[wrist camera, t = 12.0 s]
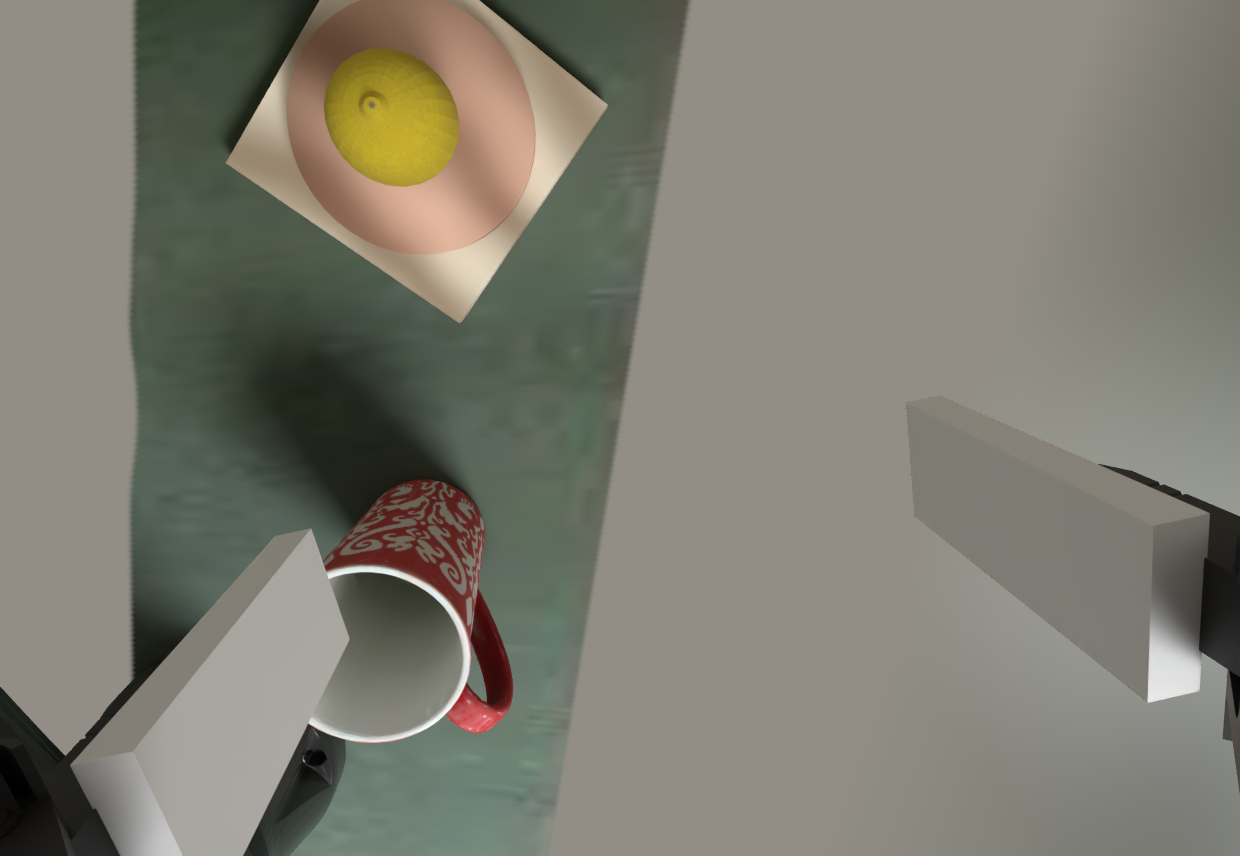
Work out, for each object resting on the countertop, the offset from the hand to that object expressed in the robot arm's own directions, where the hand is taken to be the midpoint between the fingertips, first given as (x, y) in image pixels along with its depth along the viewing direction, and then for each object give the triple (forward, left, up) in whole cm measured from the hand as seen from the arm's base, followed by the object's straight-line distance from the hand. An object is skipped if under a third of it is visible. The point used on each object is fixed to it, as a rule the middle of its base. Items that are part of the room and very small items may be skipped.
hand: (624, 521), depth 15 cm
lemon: (+3, +13, -25) cm, 28 cm away
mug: (-16, -1, -28) cm, 32 cm away
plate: (+4, +13, -27) cm, 30 cm away
